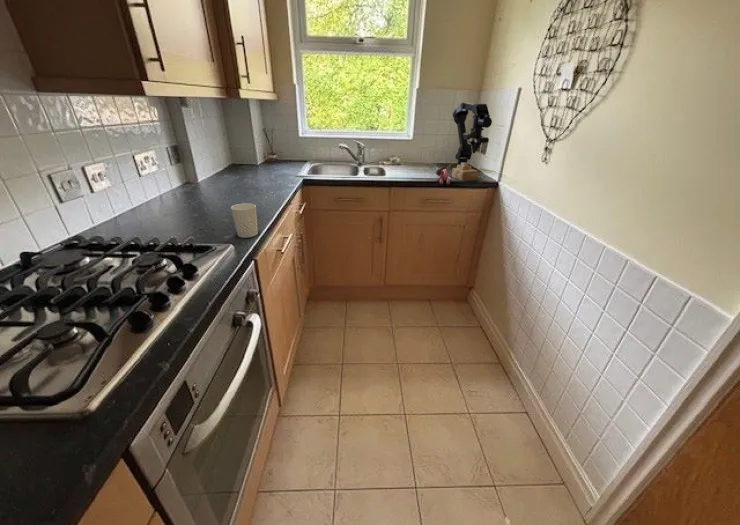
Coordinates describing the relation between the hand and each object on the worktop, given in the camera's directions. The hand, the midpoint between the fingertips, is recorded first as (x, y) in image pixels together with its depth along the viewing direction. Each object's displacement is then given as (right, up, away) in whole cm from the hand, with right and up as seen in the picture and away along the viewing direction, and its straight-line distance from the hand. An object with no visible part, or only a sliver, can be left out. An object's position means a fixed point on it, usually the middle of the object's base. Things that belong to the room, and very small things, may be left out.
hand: (473, 153), depth 208 cm
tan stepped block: (-9, -19, -10) cm, 23 cm away
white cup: (-108, -59, -93) cm, 154 cm away
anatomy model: (-24, -23, -19) cm, 38 cm away
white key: (-9, -11, -10) cm, 18 cm away
